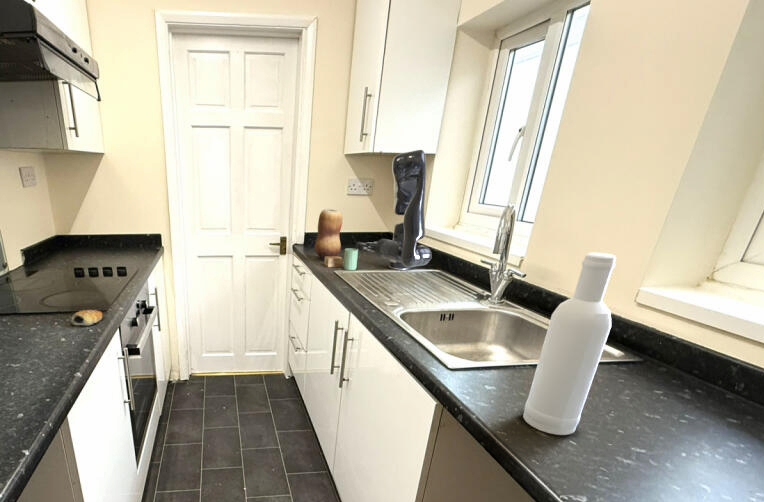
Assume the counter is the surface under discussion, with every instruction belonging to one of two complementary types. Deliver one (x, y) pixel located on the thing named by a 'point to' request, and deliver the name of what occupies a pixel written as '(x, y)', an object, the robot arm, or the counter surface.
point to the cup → (350, 259)
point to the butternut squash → (328, 233)
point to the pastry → (86, 317)
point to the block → (333, 261)
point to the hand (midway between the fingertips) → (365, 244)
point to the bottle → (571, 351)
